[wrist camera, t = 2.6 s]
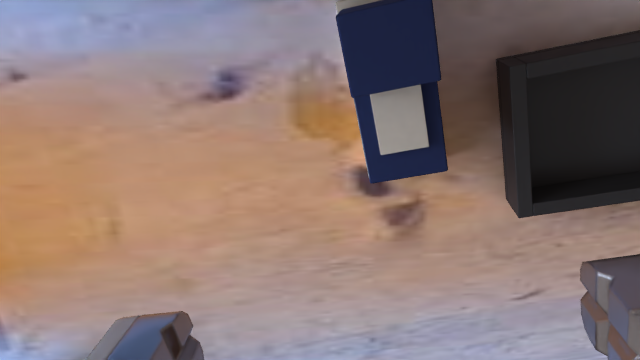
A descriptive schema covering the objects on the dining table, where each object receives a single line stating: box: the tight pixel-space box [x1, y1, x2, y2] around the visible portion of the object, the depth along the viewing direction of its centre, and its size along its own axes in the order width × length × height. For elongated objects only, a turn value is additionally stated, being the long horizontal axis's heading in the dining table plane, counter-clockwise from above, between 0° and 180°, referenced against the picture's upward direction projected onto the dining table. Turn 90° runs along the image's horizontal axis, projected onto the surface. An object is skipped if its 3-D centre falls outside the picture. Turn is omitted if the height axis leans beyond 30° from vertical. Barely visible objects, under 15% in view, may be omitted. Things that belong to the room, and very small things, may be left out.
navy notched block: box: [335, 0, 448, 183], centre depth 23 cm, size 10×4×6 cm, turn 12°
